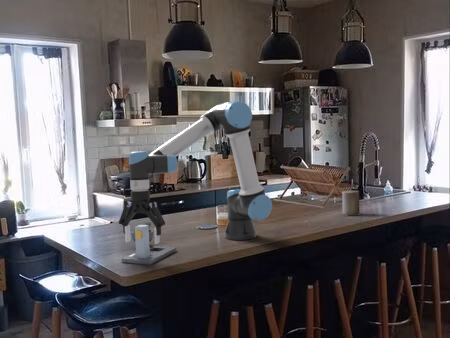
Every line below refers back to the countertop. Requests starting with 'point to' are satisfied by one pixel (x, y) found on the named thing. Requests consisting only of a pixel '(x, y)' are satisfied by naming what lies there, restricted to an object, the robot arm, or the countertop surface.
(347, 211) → the pillar candle
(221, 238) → the countertop surface
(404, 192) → the countertop surface
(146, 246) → the plug
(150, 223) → the mortar and pestle
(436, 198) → the countertop surface
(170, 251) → the port panel
